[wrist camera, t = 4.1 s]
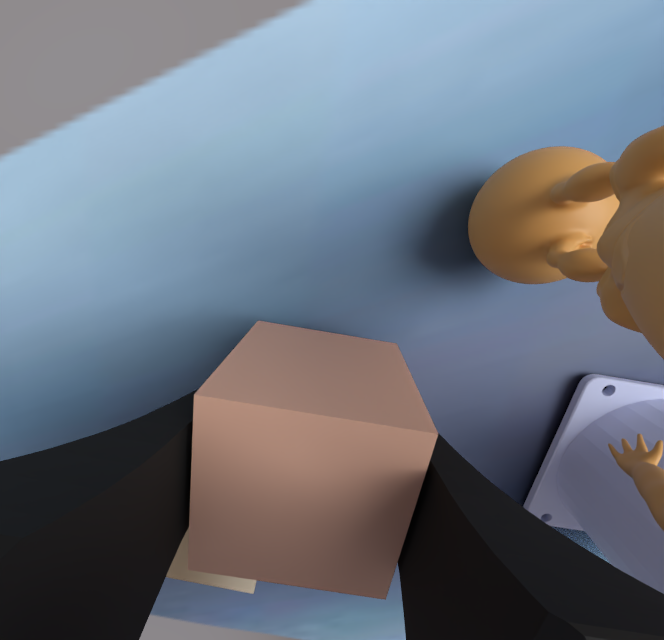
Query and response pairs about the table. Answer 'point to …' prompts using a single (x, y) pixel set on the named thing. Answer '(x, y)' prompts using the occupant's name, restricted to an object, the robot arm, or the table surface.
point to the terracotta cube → (307, 461)
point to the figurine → (586, 246)
